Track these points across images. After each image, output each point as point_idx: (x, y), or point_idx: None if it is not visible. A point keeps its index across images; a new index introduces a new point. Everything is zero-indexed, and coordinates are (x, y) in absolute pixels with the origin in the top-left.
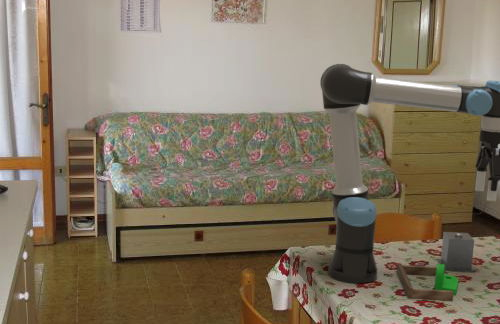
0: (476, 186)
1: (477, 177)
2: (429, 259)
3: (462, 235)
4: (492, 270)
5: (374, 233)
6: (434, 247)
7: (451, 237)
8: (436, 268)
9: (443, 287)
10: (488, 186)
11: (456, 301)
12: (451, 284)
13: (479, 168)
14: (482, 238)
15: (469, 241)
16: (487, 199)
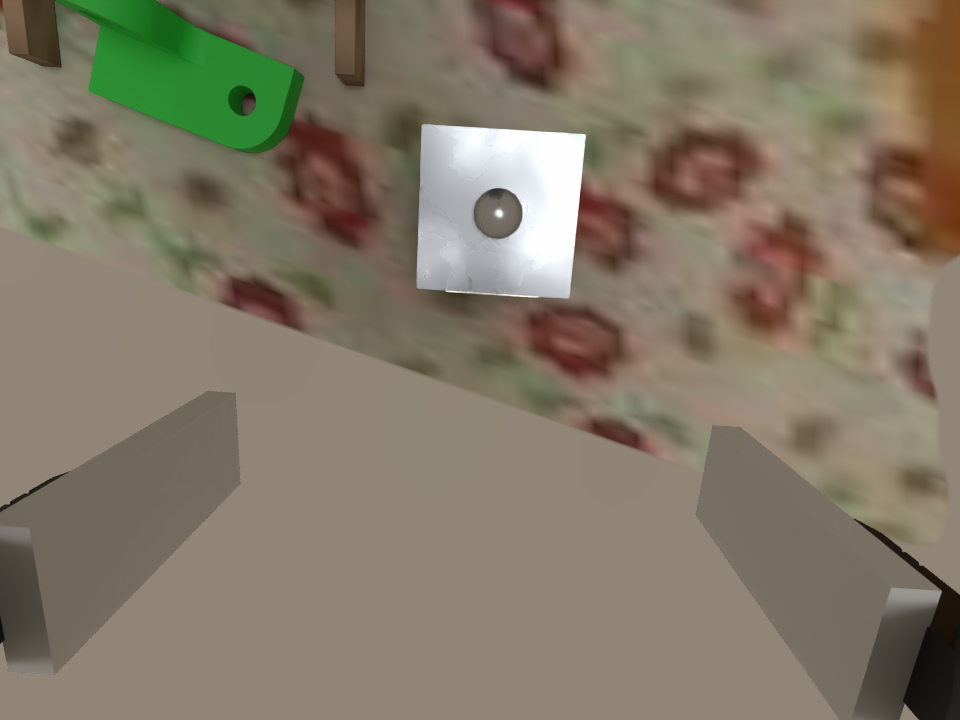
0: (735, 453)
1: (808, 520)
2: (586, 109)
3: (485, 235)
4: (455, 373)
5: None
6: (782, 193)
7: (458, 152)
8: (335, 62)
9: (102, 34)
10: (104, 465)
11: (41, 82)
12: (152, 89)
13: (957, 672)
14: (920, 488)
15: (418, 259)
16: (201, 398)
